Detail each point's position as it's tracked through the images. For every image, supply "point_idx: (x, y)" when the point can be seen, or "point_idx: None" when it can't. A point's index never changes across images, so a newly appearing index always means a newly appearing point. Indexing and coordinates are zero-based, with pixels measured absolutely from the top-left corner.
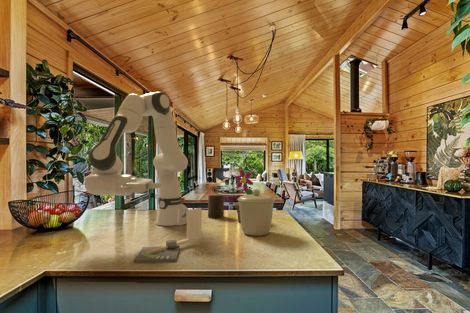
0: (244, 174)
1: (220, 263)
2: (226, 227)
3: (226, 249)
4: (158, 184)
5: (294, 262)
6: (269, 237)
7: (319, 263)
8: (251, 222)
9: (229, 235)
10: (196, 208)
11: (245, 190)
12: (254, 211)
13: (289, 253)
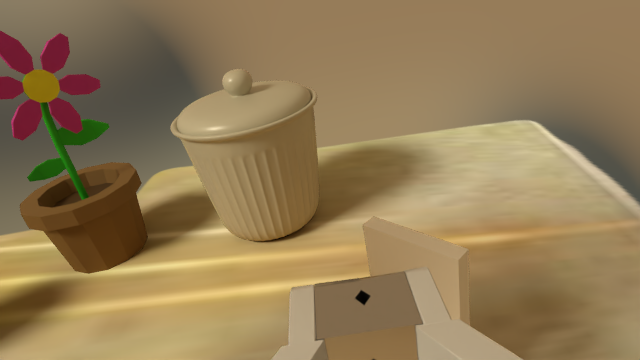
0: (29, 55)
1: (633, 260)
2: (160, 299)
3: (474, 264)
4: (431, 278)
5: (524, 153)
6: (324, 193)
7: (511, 132)
8: (312, 179)
9: (290, 276)
10: (389, 232)
11: (75, 128)
12: (312, 136)
13: (462, 160)
